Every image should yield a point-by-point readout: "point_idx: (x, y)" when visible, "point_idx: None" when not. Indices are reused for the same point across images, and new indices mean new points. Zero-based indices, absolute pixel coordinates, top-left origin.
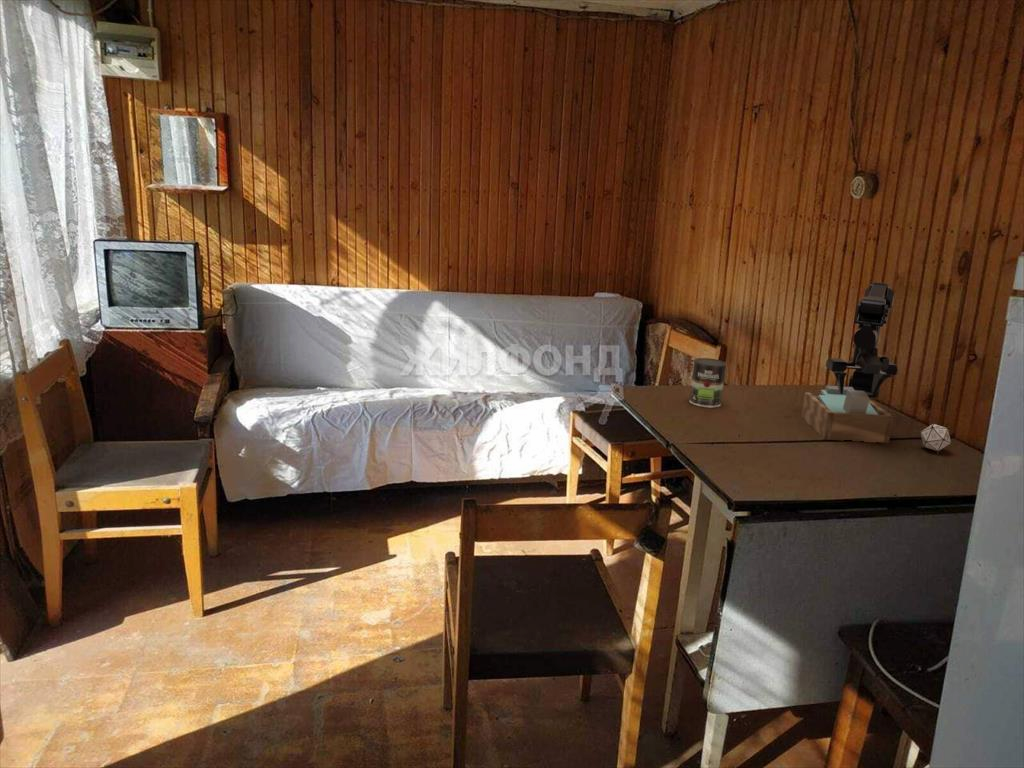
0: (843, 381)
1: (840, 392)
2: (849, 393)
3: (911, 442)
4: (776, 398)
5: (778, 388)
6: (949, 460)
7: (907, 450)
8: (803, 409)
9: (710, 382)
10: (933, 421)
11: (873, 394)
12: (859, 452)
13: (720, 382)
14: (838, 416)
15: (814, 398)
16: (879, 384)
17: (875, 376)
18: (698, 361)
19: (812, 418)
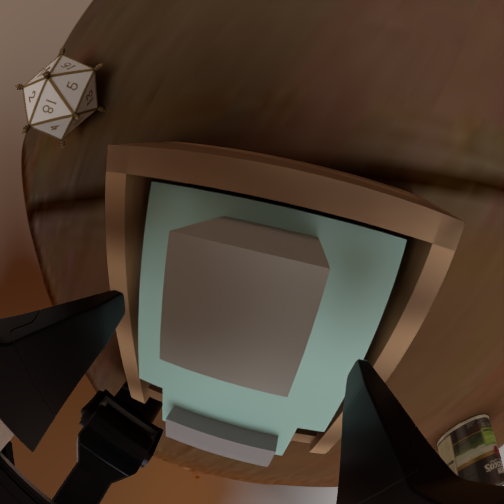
0: (399, 448)
1: (371, 371)
2: (303, 351)
3: (105, 160)
4: (296, 460)
5: (254, 477)
6: (98, 33)
7: (153, 79)
8: None
9: (494, 454)
10: (23, 130)
11: (113, 295)
12: (353, 48)
13: (476, 461)
14: (412, 201)
15: None
16: (33, 319)
17: (35, 408)
18: None
19: None
